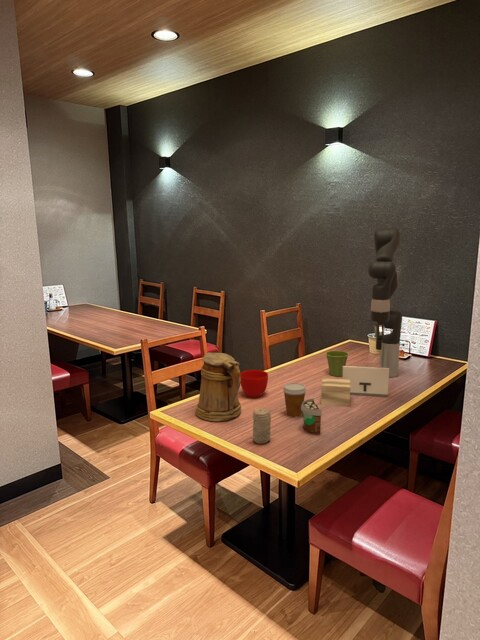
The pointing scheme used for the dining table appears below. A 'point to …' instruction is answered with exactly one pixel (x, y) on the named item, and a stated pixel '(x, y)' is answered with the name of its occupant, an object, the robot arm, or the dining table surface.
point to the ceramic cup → (254, 382)
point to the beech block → (335, 392)
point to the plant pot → (336, 362)
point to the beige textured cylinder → (261, 425)
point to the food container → (311, 416)
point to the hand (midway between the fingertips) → (378, 349)
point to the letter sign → (367, 380)
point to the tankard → (219, 388)
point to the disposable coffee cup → (294, 398)
